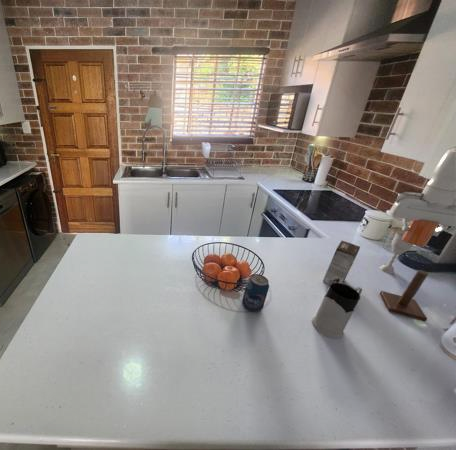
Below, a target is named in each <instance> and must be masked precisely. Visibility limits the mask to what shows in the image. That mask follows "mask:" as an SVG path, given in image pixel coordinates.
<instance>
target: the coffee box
mask: <svg viewBox="0 0 456 450" xmlns="http://www.w3.org/2000/svg"><path fill="white" fill-rule="evenodd" d="M360 249H361V246H359V245H357V244H354V243H351V242H348V241H346V240H340V241H339V244H338V246H337V247H336V249H335V252H334V254H333V256H332V259H331V261H330V263H329V265H328V268H327V270H326V272H325V275H324V277H323V279H322V283H325V284H327V285H329V286H330V285H331V284H332V283H341V284H344V282H345V281H346V279H347V276H348V275H349V272H350V270H351V268H352V267H353V264H354V262H355V260H356V258H357V257H358V254H359V251H360Z"/></svg>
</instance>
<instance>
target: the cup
mask: <svg viewBox="0 0 456 450" xmlns="http://www.w3.org/2000/svg"><path fill="white" fill-rule="evenodd" d="M408 225H409V226H410V227H411V228H410V229H409V231H405V233H404V235H403V237H402V240H403V241H405V242H407V243H410V244H413V245H412V246H417V247H426V246H427V244H428V243H429V241H430V239H431V238H432V237H433V236H432V235H433V233H434V231H435V230H436V229H437V228H438V227H439V223H437V222H431V221H425V220H418V221H415V220H410V222H409V224H408Z"/></svg>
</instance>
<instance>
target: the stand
mask: <svg viewBox="0 0 456 450" xmlns="http://www.w3.org/2000/svg"><path fill="white" fill-rule="evenodd" d="M428 276H429V272H427V271H426V270H423V269H417V271H416V272H415V273H414V275H413V277H412V279H411V280H410V282H409V283H408V285H407V287H406V288H405V289H404V291H403V293H402V295H399V294H396V293H391V292H387V291H384V290H381V291H380V292H379V296H380V298H381V300H382V302H383V304H384V306H385V307H386V309H387V311H388V312H390V313H393V314H398V315H401V316H403V317H408V318H411V319H415V320H419V321H423V322H426V321H427V320H428V317H427V315H426V314H425V312H424V311H423V309H422V308H421V307H420V305H419V303H418V302H417V300H416V299H415V298H414V297H415V296H416V294H417V293H418V291H419V289H420V288H421V286H422V285H423V284H424V282H425V280H426V279H427V278H428Z"/></svg>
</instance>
